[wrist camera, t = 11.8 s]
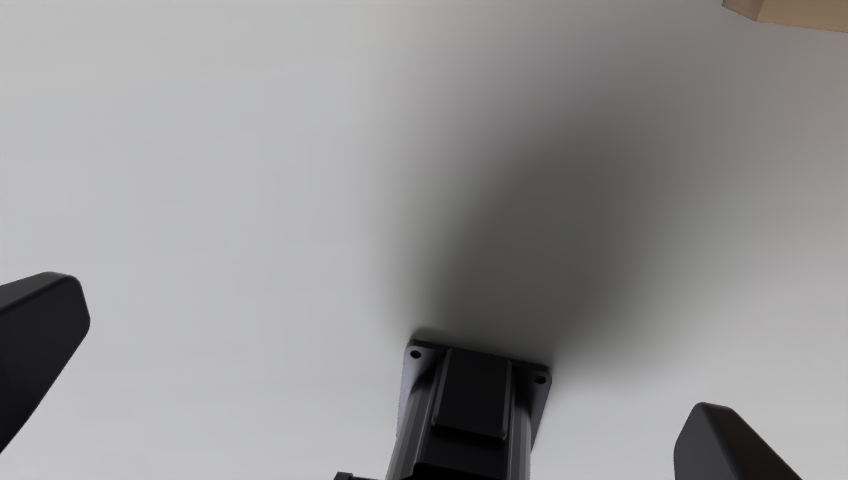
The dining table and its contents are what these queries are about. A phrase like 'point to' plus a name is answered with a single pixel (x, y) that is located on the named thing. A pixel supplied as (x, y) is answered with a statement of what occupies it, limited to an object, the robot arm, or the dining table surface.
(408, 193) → the dining table surface
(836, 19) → the socket block
